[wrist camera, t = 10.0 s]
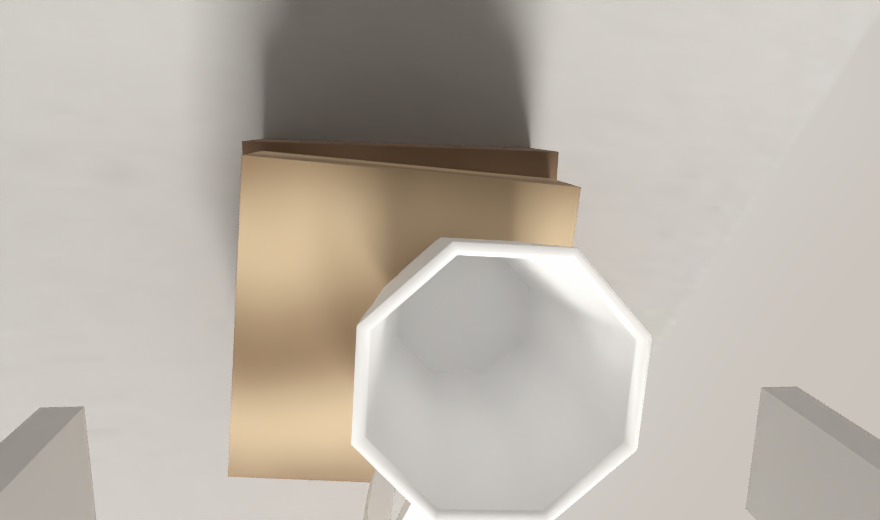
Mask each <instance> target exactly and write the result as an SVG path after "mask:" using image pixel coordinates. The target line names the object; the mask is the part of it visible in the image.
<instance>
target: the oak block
mask: <svg viewBox="0 0 880 520" xmlns="http://www.w3.org/2000/svg"><path fill="white" fill-rule="evenodd" d="M580 190H581V187H578V186H574V185H571V184H567V183H564V182H561V181H557V180H554V179H550V178H541V177H531V176H520V175H510V174H500V173H489V172H479V171H468V170H458V169H448V168H437V167H427V166H417V165H406V164H396V163H385V162H375V161H365V160H354V159H344V158H334V157H323V156H313V155H302V154H292V153H282V152H271V151H259V152H254V153H250V154H245V155H242V167H241V190H240V213H239V236H238V259H237V282H236V305H235V328H234V351H233V373H232V396H231V419H230V442H229V465H228V477H252V478H276V479H301V480H326V481H351V482H371V480H372V477H373V473H374V470H375V468H374V467H373V466H372V465H371V464H370V463H369V462H368V461H367V460H366V459H365V458H364V457H363V456H362V455H361V454H360V453H359V452H358V451H357V450H356V449H355V448H354V447H353V446H352V445H351V436H352V415H353V393H354V372H355V350H356V329H357V325H358V323H359V322H360V320H361V319H362V317H363V316H364V314H365V313H366V312H367V310H368V309H369V308H370V307H371V305H372V304H373V303H374V301H375V300H376V298H377V297H378V295H379V293H380V292H381V290H382V289H383V288H384V287H385V286H386V285H387V284H388V283H389V282H390V281H392V280H393V279H394V278H395V277H396V276H397V275H398V274H399V272H401V271H402V270H403V269H404V268H405V267H406V266H407V265H409V264H410V263H411V262H412V261H413V260H414V259H415V258H416V257H418V256H419V255H420V254H421V253H422V252H423V251H424V250H426V249H427V248H428V247H429V246H430V245H431V244H432V243H434V242H435V241H436V240H438V239H439V238H440V237H446V238H465V239H484V240H503V241H519V242H526V243H533V244H541V245H556V246H566V247H573V240H574V233H575V226H576V219H577V211H578V204H579V197H580Z"/></svg>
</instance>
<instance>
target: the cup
mask: <svg viewBox="0 0 880 520" xmlns="http://www.w3.org/2000/svg"><path fill="white" fill-rule="evenodd" d="M651 341H652V336H651V335H650V334H649V333H648V331H647V330H646V329H645V328H644V327H643V325H642V324H641V323H640V322H639V321H638V320H637V318H636V317H635V316H634V315H633V314H632V312H631V311H630V310H629V309H628V308H627V306H626V305H625V304H624V303H623V302H622V300H621V299H620V298H619V297H618V296H617V294H616V293H615V292H614V291H613V290H612V288H611V287H610V286H609V285H608V284H607V282H606V281H605V280H604V279H603V278H602V276H601V275H600V274H599V273H598V272H597V270H596V269H595V268H594V267H593V266H592V264H591V263H590V262H589V261H588V260H587V258H586V257H585V256H584V255H583V254H582V252H581V251H580V250H579V249H578V248H574V247H566V246H556V245H541V244H533V243H526V242H519V241H503V240H484V239H465V238H446V237H440V238H439V239H438V240H436V241H435V242H434V243H432V244H431V245H430V246H429V247H428V248H427V249H426V250H424V251H423V252H422V253H421V254H420V255H419V256H418V257H416V258H415V259H414V260H413V261H412V262H411V263H410V264H409V265H407V266H406V267H405V268H404V269H403V270H402V271H401V272H399V274H398V275H397V276H396V277H395V278H394V279H393V280H392V281H390V282H389V283H388V284H387V285H386V286H385V287H384V288H383V289H382V290H381V292H380V293H379V295H378V297H377V298H376V300H375V301H374V303H373V304H372V305H371V307H370V308H369V309H368V310H367V312H366V313H365V314H364V316H363V317H362V319H361V320H360V322H359V323H358V325H357V329H356V350H355V372H354V393H353V415H352V436H351V445H352V446H353V447H354V448H355V449H356V450H357V451H358V452H359V453H360V454H361V455H362V456H363V457H364V458H365V459H366V460H367V461H368V462H369V463H370V464H371V465H372V466H373V467H374V468H375V470H374V473H373V477H372V480H371V483H370V487H369V490H368V495H367V501H366V507H365V512H364V518H363V520H391V513H392V506H393V498H394V492H395V489H397V490H398V491H399V492H400V493H401V494H402V495H403V496H404V497H405V498H406V500H405V503H404V505H403V507H402V509H401V511H400V513H399V516H398V518H397V520H554V519H555V518H557V517H558V516H559V515H560V514H561V513H563V512H564V511H565V510H566V509H567V508H568V507H570V506H571V505H572V504H573V503H574V502H576V501H577V500H578V499H579V498H580V497H581V496H583V495H584V494H585V493H586V492H587V491H589V490H590V489H591V488H592V487H593V486H595V485H596V484H597V483H598V482H599V481H601V480H602V479H603V478H604V477H605V476H607V475H608V474H609V473H610V472H611V471H612V470H614V469H615V468H616V467H617V466H618V465H620V464H621V463H622V462H623V461H624V460H626V459H627V458H628V457H629V456H630V455H631V454H633V453H634V452H635V451H636V450H637V447H638V439H639V432H640V424H641V417H642V409H643V401H644V393H645V386H646V378H647V371H648V363H649V356H650V348H651Z"/></svg>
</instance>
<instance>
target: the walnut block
mask: <svg viewBox="0 0 880 520" xmlns="http://www.w3.org/2000/svg"><path fill="white" fill-rule="evenodd" d="M242 149H243V155H245V154H250V153H254V152H259V151H271V152H282V153H292V154H302V155H313V156H323V157H334V158H344V159H354V160H365V161H375V162H385V163H396V164H406V165H417V166H427V167H437V168H448V169H458V170H468V171H479V172H489V173H500V174H510V175H520V176H531V177H541V178H550V179H554V180H557V166H558V152H555V151H548V150H541V149H534V148H512V147H483V146H453V145H424V144H395V143H365V142H336V141H306V140H277V139H259V140H250V141H242Z"/></svg>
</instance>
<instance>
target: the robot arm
mask: <svg viewBox="0 0 880 520" xmlns="http://www.w3.org/2000/svg"><path fill="white" fill-rule="evenodd" d="M746 510H747V511H748V512H749V513H750V514H751V515H752V516H753V517H754V518H755V519H756V520H880V440H879V439H877V438H876V437H875V436H873V435H872V434H870V433H869V432H867V431H865V430H864V429H862V428H861V427H859V426H858V425H856V424H854V423H853V422H851V421H850V420H848V419H847V418H845V417H844V416H842V415H840V414H839V413H837V412H835V411H834V410H832V409H831V408H829V407H828V406H826V405H825V404H823V403H822V402H820V401H819V400H817V399H815V398H814V397H812V396H811V395H809V394H808V393H806V392H804V391H803V390H801V389H800V388H798V387H763V388H761V394H760V402H759V409H758V417H757V425H756V433H755V440H754V448H753V456H752V463H751V472H750V479H749V486H748V494H747V502H746ZM0 520H96V512H95V503H94V494H93V484H92V475H91V466H90V456H89V447H88V438H87V428H86V419H85V410H84V407H49V408H39V409H38V410H37V411H36V412H35V413H33V414H32V415H31V416H30V417H29V418H28V419H27V420H26V421H24V422H23V423H22V424H21V425H20V426H19V427H18V428H17V429H15V430H14V431H13V432H12V433H11V434H10V435H9V436H8V437H7V438H5V439H4V440H3V441H2V442H1V443H0Z"/></svg>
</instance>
